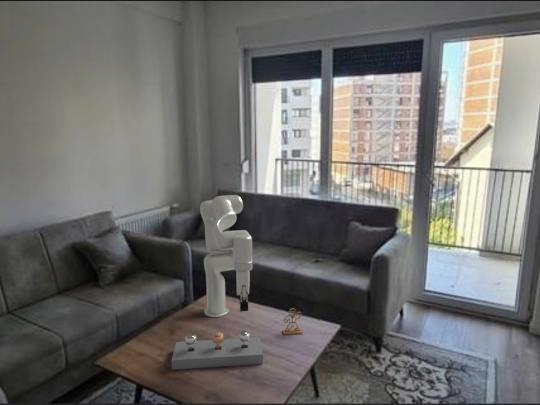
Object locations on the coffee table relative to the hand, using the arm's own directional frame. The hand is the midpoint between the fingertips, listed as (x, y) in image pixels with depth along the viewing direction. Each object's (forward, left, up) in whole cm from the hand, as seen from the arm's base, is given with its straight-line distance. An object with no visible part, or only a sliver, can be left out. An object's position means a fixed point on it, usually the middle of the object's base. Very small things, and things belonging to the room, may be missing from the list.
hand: (243, 306), depth 161 cm
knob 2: (0, 0, -18) cm, 18 cm away
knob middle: (0, -11, -18) cm, 21 cm away
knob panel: (0, -11, -22) cm, 24 cm away
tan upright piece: (-17, +23, -22) cm, 36 cm away
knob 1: (0, -22, -18) cm, 28 cm away
